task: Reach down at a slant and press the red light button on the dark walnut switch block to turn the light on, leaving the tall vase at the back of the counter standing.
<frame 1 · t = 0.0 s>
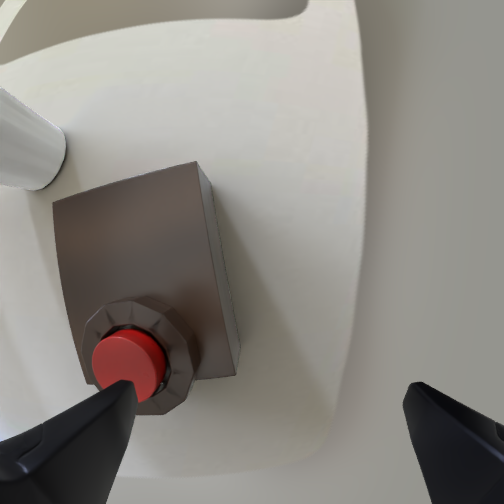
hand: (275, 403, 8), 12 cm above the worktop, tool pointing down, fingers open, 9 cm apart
led button: (129, 365, 13), point 7 cm above the worktop, slide at 0.1 cm
cup: (44, 158, 21), on the worktop
switch block: (157, 277, 21), on the worktop
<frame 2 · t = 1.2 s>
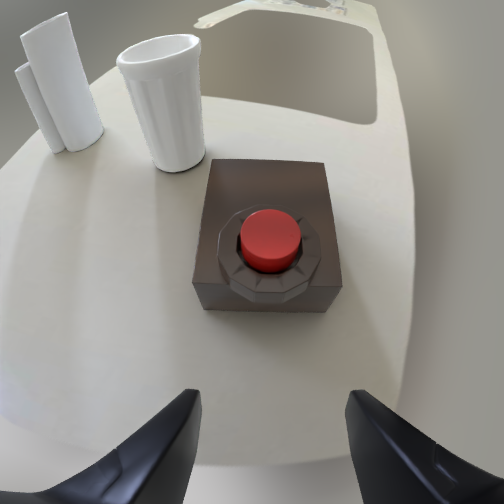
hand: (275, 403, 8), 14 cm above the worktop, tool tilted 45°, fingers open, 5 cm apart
led button: (270, 240, 18), point 7 cm above the worktop, slide at 0.1 cm
cup: (179, 157, 33), on the worktop
vase: (74, 139, 37), on the worktop
switch block: (265, 248, 27), on the worktop
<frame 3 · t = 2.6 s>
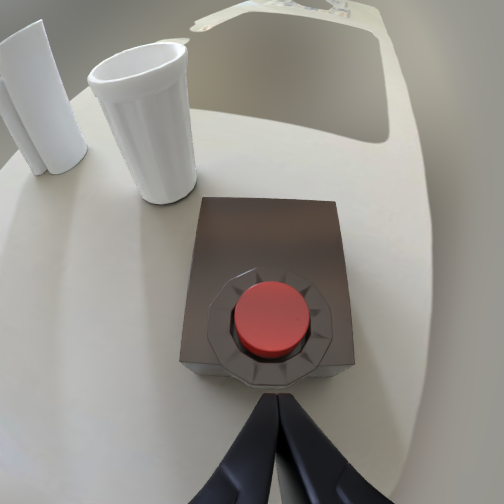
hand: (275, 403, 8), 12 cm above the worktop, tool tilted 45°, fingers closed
led button: (271, 320, 15), point 7 cm above the worktop, slide at 0.1 cm
cup: (168, 185, 30), on the worktop
vase: (56, 158, 34), on the worktop
switch block: (266, 301, 23), on the worktop
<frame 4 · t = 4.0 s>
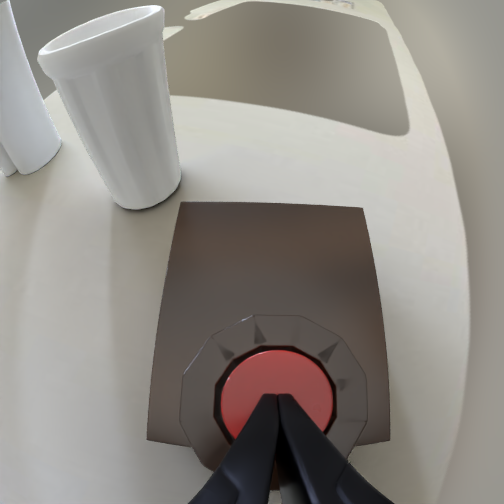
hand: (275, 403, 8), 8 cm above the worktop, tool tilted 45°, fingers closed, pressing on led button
led button: (275, 403, 9), point 7 cm above the worktop, slide at -0.6 cm, touching gripper
cup: (147, 185, 24), on the worktop
vase: (28, 156, 27), on the worktop
switch block: (267, 340, 17), on the worktop
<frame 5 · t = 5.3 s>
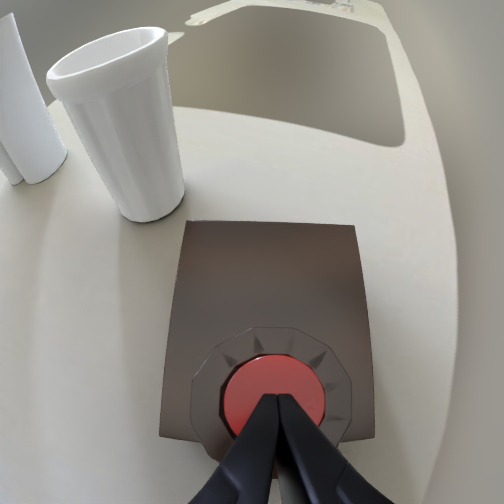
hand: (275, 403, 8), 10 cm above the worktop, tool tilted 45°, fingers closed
led button: (273, 403, 10), point 7 cm above the worktop, slide at 0.1 cm
cup: (152, 198, 25), on the worktop
vase: (34, 165, 29), on the worktop
switch block: (266, 346, 19), on the worktop
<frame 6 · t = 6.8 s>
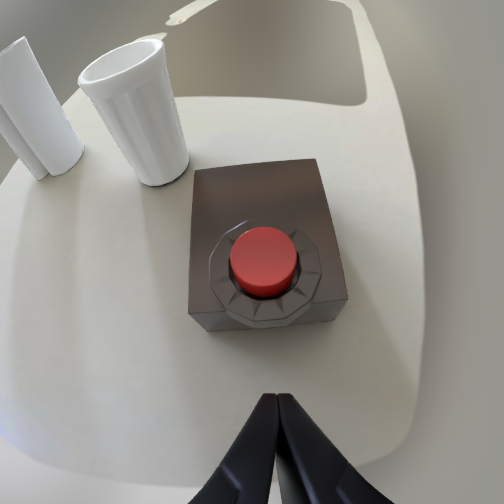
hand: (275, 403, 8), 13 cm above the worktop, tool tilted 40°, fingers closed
led button: (264, 262, 17), point 7 cm above the worktop, slide at 0.1 cm
cup: (164, 168, 32), on the worktop
vase: (55, 161, 36), on the worktop
switch block: (264, 257, 25), on the worktop
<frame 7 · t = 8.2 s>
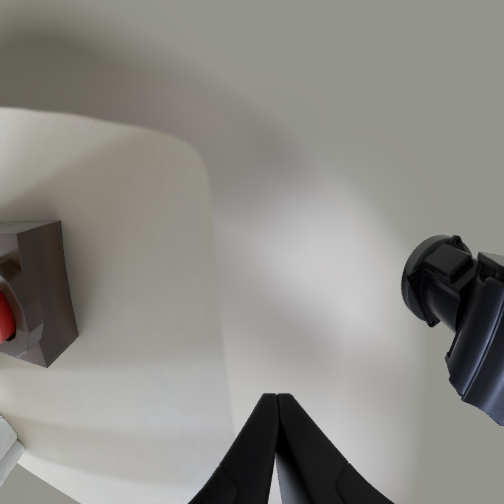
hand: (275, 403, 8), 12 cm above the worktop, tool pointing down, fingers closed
vase: (8, 433, 28), on the worktop
switch block: (21, 276, 20), on the worktop
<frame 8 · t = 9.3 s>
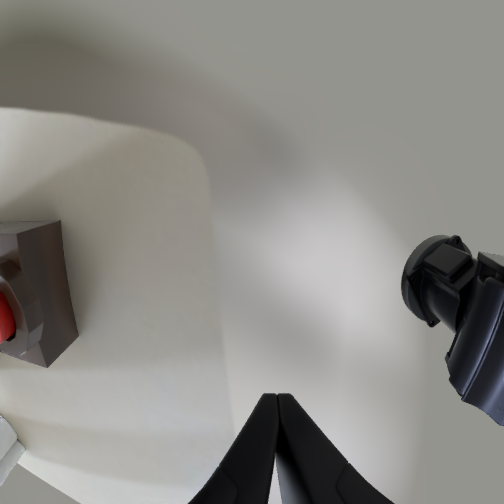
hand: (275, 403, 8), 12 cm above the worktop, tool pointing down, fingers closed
vase: (8, 433, 28), on the worktop
switch block: (21, 277, 20), on the worktop
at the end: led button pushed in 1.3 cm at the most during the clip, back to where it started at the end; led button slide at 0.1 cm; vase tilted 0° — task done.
